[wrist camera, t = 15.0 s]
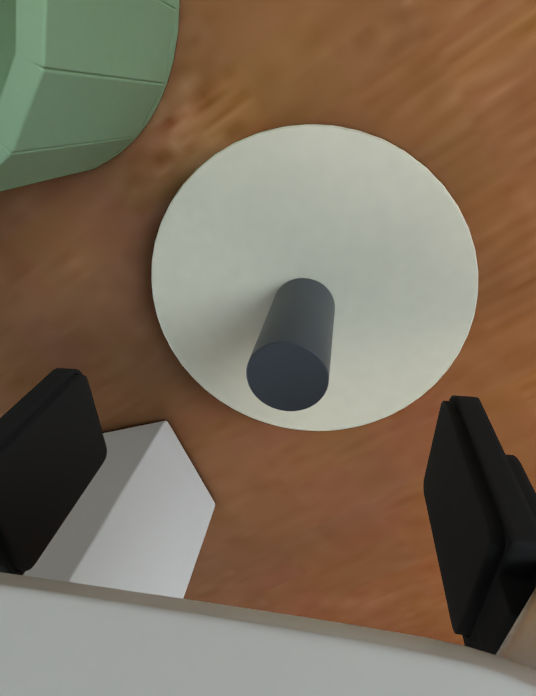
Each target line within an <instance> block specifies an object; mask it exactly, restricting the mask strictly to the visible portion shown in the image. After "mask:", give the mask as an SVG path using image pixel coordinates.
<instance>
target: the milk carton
mask: <svg viewBox="0 0 536 696" xmlns="http://www.w3.org/2000/svg"><path fill="white" fill-rule="evenodd" d="M103 436H104V440H105V443H106V447H107V456H106V459H105V461H104V463H103V464H102V466H101V467H100V469H99V470H98V472H97V473H96V475H95V476H94V478H93V479H92V481H91V482H90V484H89V485H88V487H87V488H86V489H85V491H84V492H83V494H82V495H81V497H80V498H79V500H78V501H77V503H76V504H75V506H74V507H73V509H72V510H71V512H70V513H69V515H68V516H67V518H66V519H65V521H64V522H63V524H62V525H61V527H60V528H59V530H58V531H57V533H56V534H55V536H54V537H53V539H52V540H51V542H50V543H49V544H48V546H47V547H46V549H45V550H44V552H43V553H42V555H41V556H40V558H39V559H38V561H37V562H36V564H35V565H34V566H33V568H31V569H30V570H28V571H25V573H24V574H23V576H30V577H37V578H44V579H51V580H58V581H65V582H73V583H80V584H87V585H94V586H100V587H107V588H114V589H121V590H128V591H134V592H141V593H148V594H155V595H161V596H168V597H175V598H182V599H183V598H184V595H185V592H186V589H187V586H188V583H189V580H190V577H191V574H192V572H193V569H194V566H195V563H196V560H197V557H198V554H199V551H200V548H201V545H202V543H203V540H204V537H205V534H206V531H207V528H208V525H209V522H210V519H211V516H212V513H213V511H214V507H215V503H214V501H213V499H212V497H211V495H210V494H209V492H208V490H207V488H206V487H205V485H204V483H203V481H202V480H201V478H200V476H199V475H198V473H197V471H196V469H195V468H194V466H193V464H192V462H191V461H190V459H189V457H188V456H187V454H186V452H185V450H184V449H183V447H182V445H181V443H180V442H179V440H178V438H177V437H176V435H175V433H174V431H173V430H172V428H171V426H170V425H169V423H168V422H167V421H161V422H156V423H151V424H146V425H141V426H136V427H132V428H127V429H122V430H117V431H112V432H107V433H103Z"/></svg>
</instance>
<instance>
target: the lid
mask: <svg viewBox="0 0 536 696" xmlns="http://www.w3.org/2000/svg"><path fill="white" fill-rule="evenodd" d="M151 283H152V292H153V300H154V305H155V309H156V313H157V317H158V320H159V323H160V325H161V328H162V331H163V333H164V335H165V337H166V339H167V341H168V343H169V345H170V347H171V349H172V351H173V352H174V354H175V355H176V357H177V358H178V360H179V361H180V363H181V364H182V365H183V367H184V368H185V369H186V370H187V371H188V373H189V374H190V375H191V376H192V377H193V378H194V379H195V380H196V381H197V382H198V383H199V384H200V385H201V386H202V387H203V388H204V389H205V390H206V391H208V392H209V393H210V394H212V395H213V396H214V397H216V398H217V399H218V400H219V401H221V402H223V403H224V404H226V405H228V406H229V407H231V408H232V409H234V410H236V411H238V412H240V413H242V414H244V415H246V416H248V417H251V418H253V419H256V420H259V421H262V422H264V423H267V424H271V425H275V426H279V427H283V428H290V429H296V430H307V431H328V430H340V429H346V428H353V427H357V426H361V425H364V424H368V423H372V422H374V421H377V420H379V419H382V418H385V417H387V416H390V415H391V414H393V413H395V412H397V411H399V410H401V409H403V408H405V407H406V406H408V405H409V404H411V403H412V402H414V401H415V400H417V399H418V398H419V397H421V396H422V395H423V394H424V393H425V392H427V391H428V390H429V389H430V388H431V387H432V386H433V385H434V384H436V382H437V381H438V380H439V379H440V378H441V377H442V376H443V374H444V373H445V372H446V371H447V370H448V369H449V367H450V366H451V364H452V363H453V361H454V360H455V358H456V357H457V355H458V354H459V352H460V350H461V348H462V346H463V344H464V342H465V340H466V338H467V336H468V333H469V330H470V327H471V324H472V321H473V318H474V314H475V309H476V303H477V297H478V266H477V259H476V252H475V247H474V244H473V241H472V237H471V234H470V231H469V228H468V226H467V223H466V221H465V219H464V217H463V215H462V213H461V211H460V209H459V207H458V205H457V204H456V202H455V201H454V200H453V198H452V197H451V195H450V194H449V192H448V191H447V189H446V188H445V187H444V185H443V184H442V183H441V182H440V181H439V180H438V179H437V178H436V177H435V176H434V175H433V174H432V173H431V172H430V171H429V170H428V169H427V168H426V167H425V166H424V165H422V164H421V163H420V162H418V161H417V160H416V159H415V158H413V157H412V156H411V155H409V154H408V153H407V152H405V151H404V150H402V149H400V148H398V147H396V146H395V145H393V144H391V143H389V142H387V141H386V140H384V139H381V138H379V137H376V136H373V135H371V134H368V133H365V132H362V131H360V130H355V129H350V128H345V127H340V126H336V125H320V124H303V125H293V126H284V127H280V128H276V129H271V130H267V131H263V132H259V133H257V134H254V135H252V136H249V137H247V138H244V139H242V140H239V141H237V142H235V143H233V144H232V145H230V146H228V147H226V148H225V149H223V150H221V151H220V152H218V153H216V154H215V155H214V156H212V157H211V158H210V159H209V160H207V161H206V162H205V163H204V164H203V165H201V166H200V167H199V168H198V169H197V170H196V171H195V172H194V173H193V174H192V175H191V176H190V177H189V178H188V179H187V181H186V182H185V183H184V184H183V185H182V186H181V188H180V189H179V191H178V192H177V194H176V195H175V197H174V198H173V200H172V201H171V203H170V205H169V207H168V209H167V211H166V213H165V215H164V217H163V219H162V221H161V224H160V227H159V230H158V234H157V237H156V240H155V245H154V251H153V257H152V272H151Z"/></svg>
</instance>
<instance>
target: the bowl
mask: <svg viewBox="0 0 536 696" xmlns="http://www.w3.org/2000/svg"><path fill="white" fill-rule="evenodd" d="M178 22H179V0H0V191H4V190H8V189H12V188H16V187H21V186H25V185H29V184H33V183H37V182H41V181H46V180H50V179H54V178H58V177H62V176H67V175H71V174H75V173H79V172H83V171H88V170H92V169H95V168H97V167H99V166H100V165H101V164H103V163H105V162H107V161H109V160H110V159H112V158H113V157H115V156H116V155H118V154H119V153H121V152H122V151H123V150H124V149H125V148H126V147H128V146H129V145H130V144H131V143H132V142H133V141H134V140H135V139H136V138H137V136H138V135H139V134H140V133H141V131H142V130H143V129H144V128H145V126H146V125H147V124H148V122H149V120H150V118H151V117H152V115H153V113H154V112H155V110H156V108H157V106H158V104H159V102H160V100H161V97H162V95H163V92H164V90H165V87H166V85H167V82H168V78H169V75H170V71H171V67H172V64H173V60H174V54H175V48H176V41H177V35H178Z"/></svg>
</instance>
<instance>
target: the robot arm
mask: <svg viewBox="0 0 536 696" xmlns="http://www.w3.org/2000/svg"><path fill="white" fill-rule="evenodd" d="M106 456H107V447H106V443H105V440H104V436H103V432H102V429H101V425H100V422H99V418H98V415H97V411H96V408H95V404H94V401H93V397H92V393H91V390H90V386H89V383H88V380H87V377H86V376H84V375H82V373H81V372H80V371H79V370H77V369H64V368H57V369H55V370H53V371H52V372H51V373H50V374H49V375H47V376H46V377H45V378H44V379H43V380H42V381H41V382H40V383H39V384H38V385H36V386H35V387H34V388H33V389H32V390H31V391H30V392H29V393H28V394H27V395H25V396H24V397H23V398H22V399H21V400H20V401H19V402H18V403H17V404H15V405H14V406H13V407H12V408H11V409H10V410H9V411H8V412H7V413H6V414H4V415H3V416H2V417H1V418H0V696H536V493H535V491H534V489H533V487H532V485H531V483H530V481H529V479H528V477H527V475H526V473H525V471H524V469H523V467H522V465H521V463H520V462H519V460H518V459H517V458H516V457H515V456H513V455H505V453H504V451H503V449H502V446H501V444H500V442H499V440H498V438H497V436H496V434H495V432H494V429H493V427H492V425H491V423H490V421H489V419H488V417H487V414H486V412H485V410H484V408H483V406H482V404H481V402H480V400H479V398H477V397H467V396H451V398H450V400H449V401H443V402H442V404H441V407H440V412H439V416H438V420H437V425H436V429H435V433H434V438H433V442H432V447H431V451H430V455H429V460H428V464H427V469H426V473H425V477H424V496H425V500H426V505H427V510H428V515H429V519H430V524H431V529H432V533H433V538H434V543H435V548H436V552H437V557H438V562H439V567H440V571H441V576H442V581H443V585H444V590H445V595H446V600H447V604H448V609H449V614H450V619H451V623H452V627H453V630H454V632H455V633H456V634H461V635H463V639H464V644H465V646H462V645H458V644H453V643H449V642H444V641H440V640H435V639H431V638H426V637H421V636H415V635H409V634H403V633H398V632H392V631H386V630H380V629H374V628H368V627H363V626H357V625H351V624H345V623H339V622H332V621H326V620H319V619H313V618H306V617H300V616H293V615H287V614H280V613H274V612H267V611H261V610H254V609H248V608H241V607H235V606H228V605H222V604H215V603H208V602H202V601H195V600H188V599H182V598H175V597H168V596H161V595H155V594H148V593H141V592H134V591H128V590H121V589H114V588H107V587H100V586H94V585H87V584H80V583H73V582H65V581H58V580H51V579H44V578H37V577H30V576H23V574H24V573H25V571H28V570H30V569H31V568H33V566H34V565H35V564H36V562H37V561H38V559H39V558H40V556H41V555H42V553H43V552H44V550H45V549H46V547H47V546H48V544H49V543H50V542H51V540H52V539H53V537H54V536H55V534H56V533H57V531H58V530H59V528H60V527H61V525H62V524H63V522H64V521H65V519H66V518H67V516H68V515H69V513H70V512H71V510H72V509H73V507H74V506H75V504H76V503H77V501H78V500H79V498H80V497H81V495H82V494H83V492H84V491H85V489H86V488H87V487H88V485H89V484H90V482H91V481H92V479H93V478H94V476H95V475H96V473H97V472H98V470H99V469H100V467H101V466H102V464H103V463H104V461H105V459H106Z"/></svg>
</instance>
